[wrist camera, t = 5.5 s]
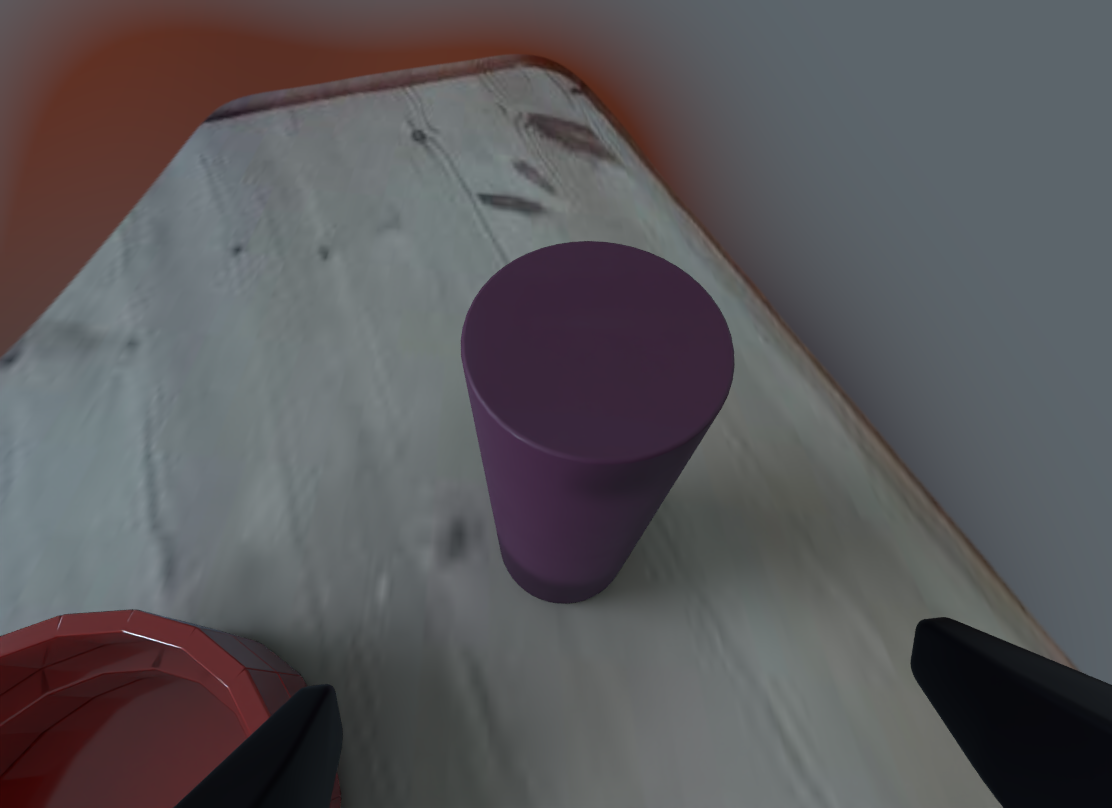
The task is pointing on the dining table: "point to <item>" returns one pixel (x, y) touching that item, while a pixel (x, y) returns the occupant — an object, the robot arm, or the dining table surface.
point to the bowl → (128, 708)
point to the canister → (588, 403)
